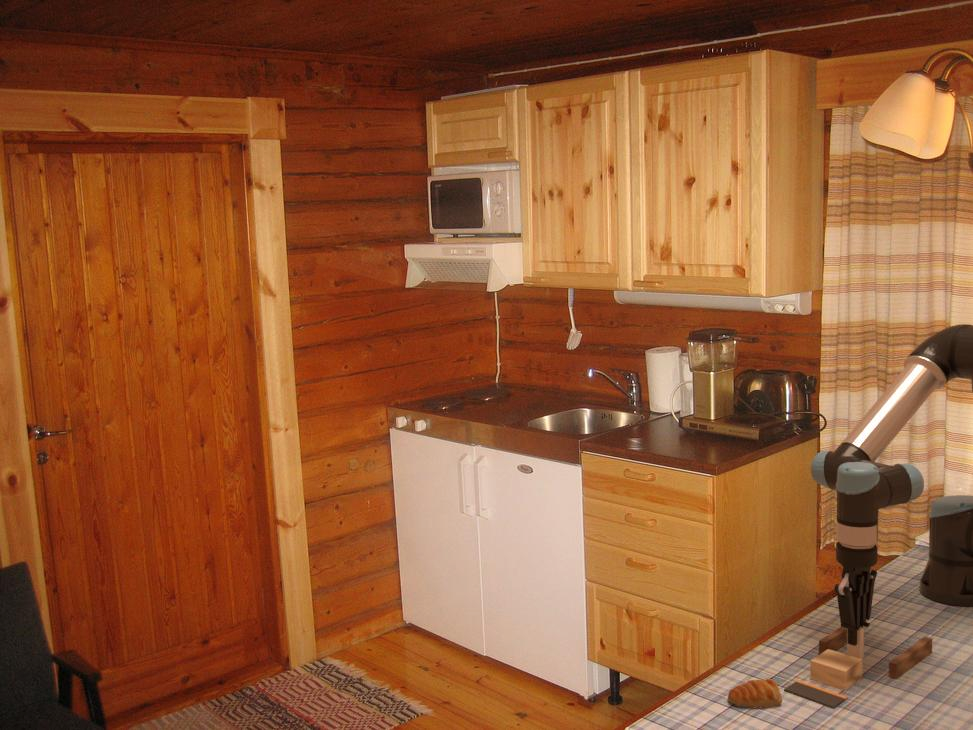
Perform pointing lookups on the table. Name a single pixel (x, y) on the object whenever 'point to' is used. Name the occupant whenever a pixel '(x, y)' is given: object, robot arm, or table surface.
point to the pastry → (756, 694)
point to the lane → (896, 665)
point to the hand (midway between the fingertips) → (855, 658)
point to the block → (836, 669)
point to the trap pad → (815, 694)
